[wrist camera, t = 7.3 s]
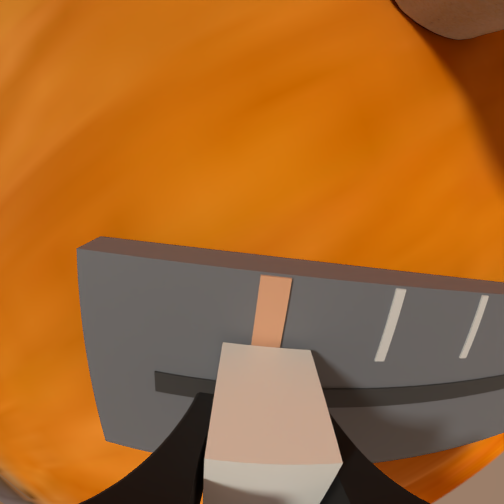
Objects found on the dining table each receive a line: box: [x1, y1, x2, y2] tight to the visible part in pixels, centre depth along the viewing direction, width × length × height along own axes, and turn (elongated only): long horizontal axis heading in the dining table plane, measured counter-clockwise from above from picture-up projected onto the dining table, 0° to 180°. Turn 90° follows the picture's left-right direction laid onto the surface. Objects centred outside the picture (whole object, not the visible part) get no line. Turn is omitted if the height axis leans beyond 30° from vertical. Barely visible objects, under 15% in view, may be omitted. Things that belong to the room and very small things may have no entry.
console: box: [77, 237, 504, 463], centre depth 12 cm, size 10×26×2 cm, turn 83°
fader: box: [203, 342, 343, 504], centre depth 9 cm, size 5×3×5 cm, turn 173°
